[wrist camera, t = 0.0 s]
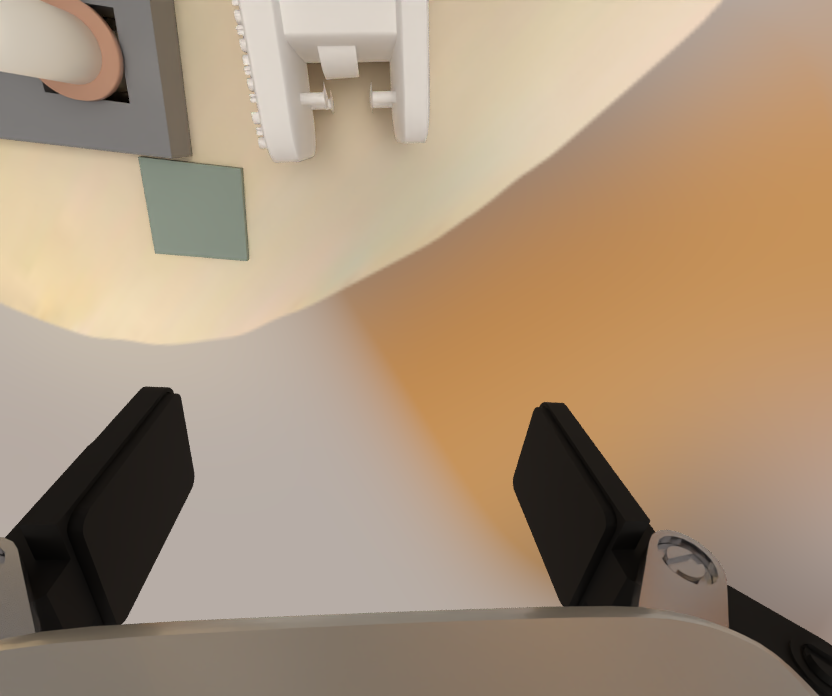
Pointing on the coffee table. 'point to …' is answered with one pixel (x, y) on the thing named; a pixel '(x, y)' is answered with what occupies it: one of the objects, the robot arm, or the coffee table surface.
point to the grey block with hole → (108, 120)
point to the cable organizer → (331, 64)
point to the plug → (61, 47)
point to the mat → (195, 208)
